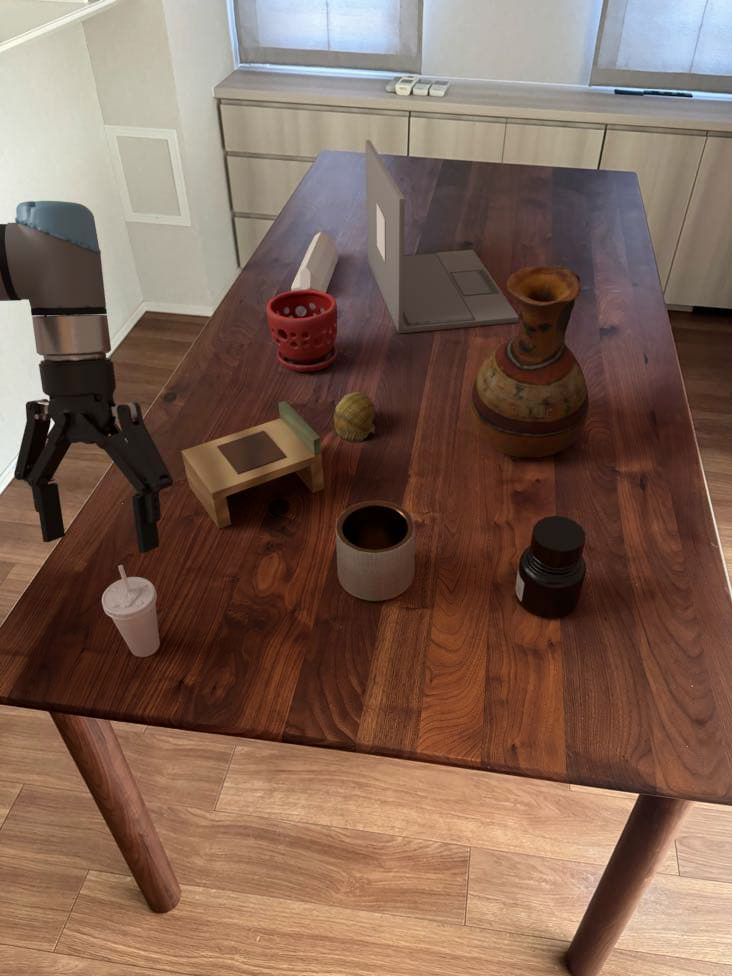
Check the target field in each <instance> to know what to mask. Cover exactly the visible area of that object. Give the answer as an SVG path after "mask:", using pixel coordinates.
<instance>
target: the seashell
mask: <svg viewBox="0 0 732 976" xmlns="http://www.w3.org/2000/svg"><path fill="white" fill-rule="evenodd" d="M375 415H376V407H375V404H374V401H373V400H372V399H371V398H370V396H368V394H366V393H364V392H361V391H354V392H351V393H348V394H344V395H343V397H342V398H341V400H340V401H339V402H338V403H337V405H336V407H335V409H334V413H333V424H334V430H335V433H336V434H337V435H338V436H339V437H340V438H342V439H344V440H345V441H348V442H353V443H354V442H357V443H359V442H362V441H364V439H366V438H367V437H368V435H369V434H370V433H371V434H373V435H375V432H376V431H375V430H376V425H374V424H373V419H374V417H375Z"/></svg>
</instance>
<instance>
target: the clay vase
mask: <svg viewBox="0 0 732 976" xmlns="http://www.w3.org/2000/svg"><path fill="white" fill-rule="evenodd" d="M580 281H581V279H580V275H579V274H578V273H577V272H576V271H574V270H572V269H569V268H566V267H563V266H561V265H557V264H555V263H551V264H543V265H533V266H532V265H531V266H526V267H522V268H520V269H518V270H517V271H516V272H514V273H512V274H511V275H510V276H509V277H508V278H507V281H506V290H507V293H509V294H510V296H512V297H513V298H514V299H515V300H516V301H517V302H518V304H519V306H520V309H519V318H520V324H519V328H518V332H517V334H516V335H515V336H512V337H510V338H508V339H507V340H505V341H502V343H501V344H499V345H498V346H497V347H495V349H493V350H492V351H491V352H490V353H489V354H488V356H487V358H485V360H484V361H483V363H482V364H481V365H480V368H479V370H478V372H477V374H476V377H475V379H474V383H473V386H472V390H471V397H470V416H471V420H472V423H473V427H474V429H475V430H476V432H477V434H478V435H479V436H480V438H482V440H483V441H484V442H486V444H488V445H489V446H491V447H492V448H493V449H495V450H496V451H498V452H501V453H503V454H505V455H508V456H512V457H518V458H540V457H546V456H550V455H554V454H557V453H559V452H563V450H565V449H567V448H568V447H570V445H572V444H573V443H574V442H575V440H577V438H578V437H579V436H580V434H581V432H582V430H583V429H584V426H585V423H586V421H587V418H588V413H589V408H590V397H589V389H588V386H587V382H586V381H587V380H586V378H585V375H584V372H583V369H582V367H581V365H580V363H579V361H578V359H577V358H576V355H574V353H573V352H572V350H571V349H570V348H569V347H568V346H567V343H566V342H565V339H566V338H565V337H566V332H567V328H568V325H569V322H570V320H571V317H572V312H573V310H574V307H575V302H576V299H577V297H578V296H579V295H580V294H581V292H582V291H581V289H582V288H581V282H580Z"/></svg>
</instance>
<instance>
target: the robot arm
mask: <svg viewBox="0 0 732 976" xmlns="http://www.w3.org/2000/svg"><path fill="white" fill-rule="evenodd" d="M15 213H16V217H15V218H14V221H15V222H7V223H0V302H14V301H15V302H16V301H17V302H18V301H19V302H20V301H22V300H23V301H24V300H25V301H27V300H28V303H29V306H30V314H31V319H32V328H33V333H34V334H33V335H34V341H35V342H34V343H35V351H36V354H38V355H39V356H43V359H42V360H40V362H39V363H38V368H39V369H38V370H39V374H40V375H39V376H40V383H41V390H42V393H44V395H46V396H48V397H49V398H48V399H47V398H42V399H35V400H30V401H26V403H25V419H26V421H25V425H24V429H23V430H24V431H23V434H22V439H21V442H20V448H19V452H18V455H17V460H16V463H15V467H14V472H13V476H14V478H15V479H16V480H17V481H24V482H26V483H27V485H29V487H30V488H31V494H32V500H33V505H34V510H35V511H36V513H38V516H39V523H40V529H41V535H42V540H43V543H51V542H53V541H56V540H59V539H61V538H65V537H66V532H65V525H64V518H63V512H62V504H61V497H60V490H59V486H58V485H59V484H58V483H57V482H54V481H55V480H56V479H55V478H54V475H55V473H56V472H57V470H58V468H59V466H60V465H61V463H62V461H63V459H64V457H65V456H66V454H67V452H68V451H69V449H70V447H71V445H72V444H77V443H83V444H85V445H94V444H95V445H96V446H97V448H99V449H100V450H103V451H104V452H105V453H106V454H107V455H108V456H109V458H110V459H111V460H112V462H113V463H114V464H115V465H116V467H117V468H118V469H119V471H120V472H121V473H122V474H123V475H124V477H125V478H126V479H127V480H128V482H129V483H130V484H131V486H132V487H133V488H134V489H135V491H136V493H135V494H134V495H132V496H131V499H132V500H131V501H132V508H133V515H134V524H135V533H136V540H137V541H136V542H137V549H138V554H146V553H148V552H150V551H153V550H155V549H158V548H159V547H160V540H159V539H160V538H159V529H158V521H161V517H162V514H161V505H160V504H161V503H160V496H159V495H160V492H161V491H162V490H164V489H165V490H166V489H168V488H170V487H172V486H173V485H174V479H173V477H172V475H171V473H170V471H169V469H168V467H167V464H166V463H165V462H164V459H163V458H162V455H161V454H160V451H159V450H158V447H157V446H156V444H155V441H154V439H153V438H152V435H151V434H150V432H149V430H148V428H147V426H146V424H145V422H144V418H143V414H142V408H141V404H139V402H136V401H132V402H127V403H122V404H119V405H117V404H116V402H115V399H114V392H115V390H116V388H117V382H116V375H115V374H116V373H115V367H114V360H112V358H110V357H107V354H108V353H110V352H111V351H112V345H111V336H110V328H109V319H108V315H107V314H108V311H107V310H108V309H107V302H106V295H105V294H106V293H105V292H106V291H105V284H104V274H103V273H104V271H103V264H102V263H103V262H102V253H101V252H102V251H101V249H100V244H99V237H98V233H97V228H96V227H97V226H96V221H95V216H94V214H93V211H91V210H90V209H89V208H88V207H87V206H86V205H83V204H81V203H78V202H73V201H63V200H62V201H61V200H37V201H34V200H29V201H23V202H20V203H19V204H17V206H16V209H15ZM51 421H53V425H52V427H51V423H52V422H51ZM118 424H119V425H120V426H119V425H118ZM50 427H51V429H50Z"/></svg>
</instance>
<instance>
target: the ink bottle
mask: <svg viewBox="0 0 732 976" xmlns="http://www.w3.org/2000/svg"><path fill="white" fill-rule="evenodd" d="M586 535H587V534H586V532H585V530H584V528H583V526H582V525H580V524H579V523H578V522H577V521H576V520H573V519H571V518H569V517H566V516H559V515H552V516H544V517H543V518H540V519H539V520H537V521H536V523H535V524H533V527H532V532H531V538H530V545H529V546H527V548H526V549H524V551H523V552H522V554H521V555H520V558H519V561H518V568H517V575H516V581H515V587H514V595H515V599H516V601H517V602H518V604H519V606H520V607H522V608H523V609H524V610H525V611H526V612H527V613H530V614H532V615H534V616H535V617H538V618H542V619H548V620H556V619H561V618H565V617H566V616H568V615H570V614H571V613H572V612H574V611H575V610H576V609H577V607H578V606H579V602H580V598H581V595H582V591H583V587H584V586H583V585H584V582H585V579H586V573H587V564H586V561H585V558H584V557H583V551H584V547H585V544H586Z"/></svg>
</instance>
